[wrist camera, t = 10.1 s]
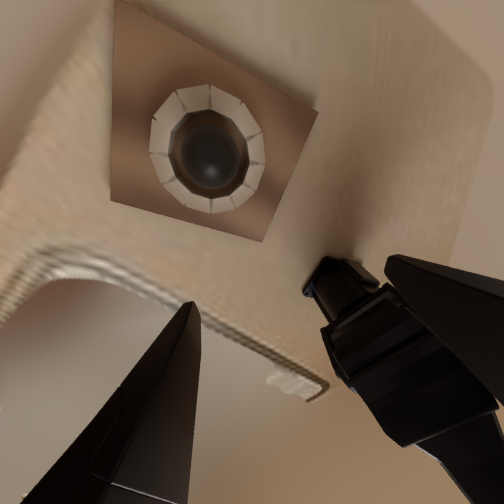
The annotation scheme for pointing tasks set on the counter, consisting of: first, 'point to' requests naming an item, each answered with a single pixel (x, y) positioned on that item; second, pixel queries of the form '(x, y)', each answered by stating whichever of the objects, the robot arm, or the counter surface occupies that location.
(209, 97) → the egg stand
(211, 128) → the egg
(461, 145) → the counter surface
